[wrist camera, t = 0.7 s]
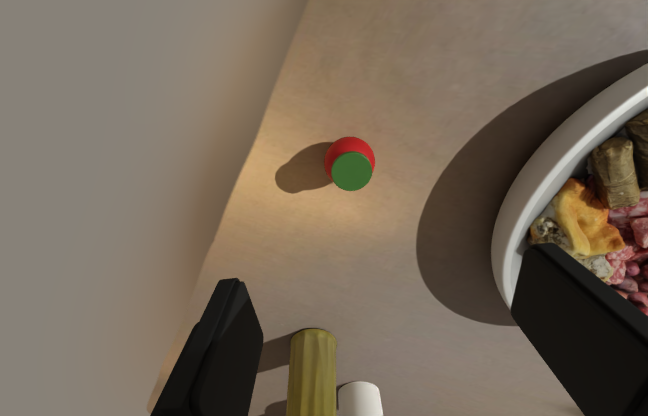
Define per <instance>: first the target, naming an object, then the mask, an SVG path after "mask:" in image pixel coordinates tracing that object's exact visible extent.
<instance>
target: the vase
mask: <svg viewBox="0 0 648 416" xmlns="http://www.w3.org/2000/svg"><path fill="white" fill-rule="evenodd" d="M290 347H291V353H290V364H289V380H288V392H287V411H286V416H336V347H337V342H336V339H335V338H334V336H333V335H332V334H330V333H329V332H327V331H325V330H321V329H305V330H302V331H300V332H298V333H297V334H295V335H294V336H293V337H292V339H291V341H290Z"/></svg>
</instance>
